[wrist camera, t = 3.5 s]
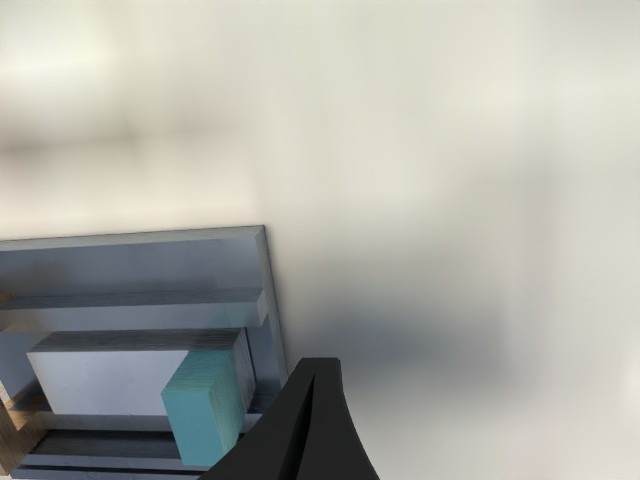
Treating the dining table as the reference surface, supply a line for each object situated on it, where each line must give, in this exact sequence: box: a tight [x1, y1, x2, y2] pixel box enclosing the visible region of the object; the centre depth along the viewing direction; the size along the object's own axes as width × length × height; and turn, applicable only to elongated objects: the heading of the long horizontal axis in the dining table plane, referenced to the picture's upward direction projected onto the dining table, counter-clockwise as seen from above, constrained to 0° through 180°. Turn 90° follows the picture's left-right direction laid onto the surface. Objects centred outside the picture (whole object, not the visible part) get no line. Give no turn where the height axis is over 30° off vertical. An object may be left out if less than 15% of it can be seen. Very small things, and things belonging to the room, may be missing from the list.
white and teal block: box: [26, 327, 256, 466], centre depth 14 cm, size 3×8×4 cm, turn 95°
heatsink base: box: [0, 225, 289, 480], centre depth 15 cm, size 10×13×4 cm
